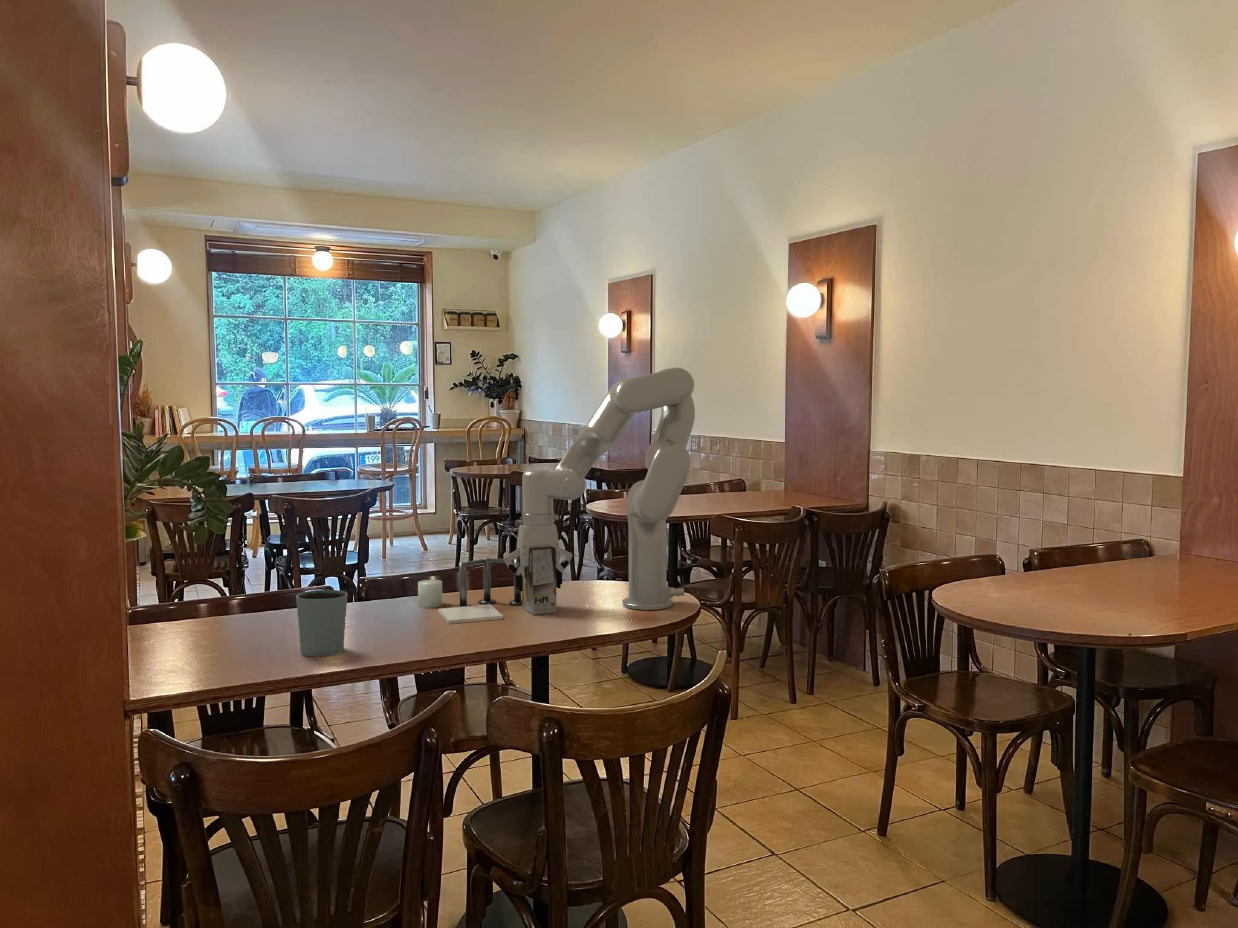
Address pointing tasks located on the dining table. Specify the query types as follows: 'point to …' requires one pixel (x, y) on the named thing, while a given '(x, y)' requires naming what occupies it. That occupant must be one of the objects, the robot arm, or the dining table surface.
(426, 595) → the pale green pillar candle
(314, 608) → the green tapered pot
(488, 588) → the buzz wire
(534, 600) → the coffee box
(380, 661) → the dining table surface
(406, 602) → the dining table surface
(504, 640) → the dining table surface
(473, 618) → the plate
